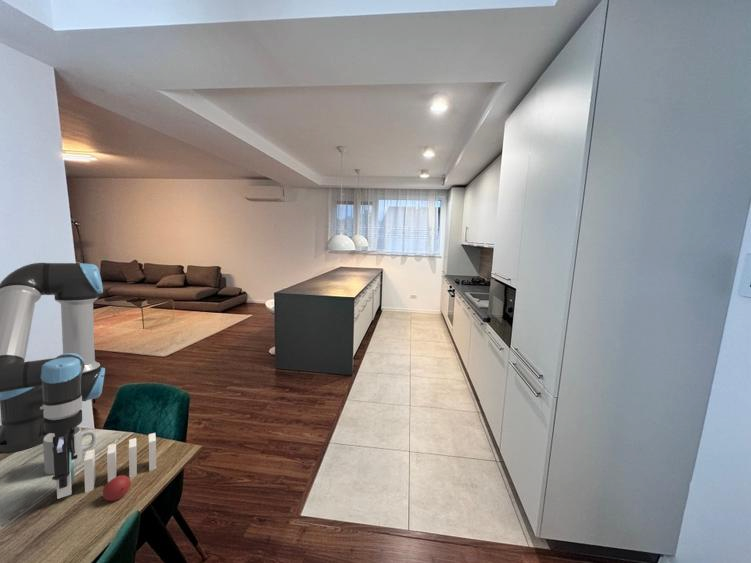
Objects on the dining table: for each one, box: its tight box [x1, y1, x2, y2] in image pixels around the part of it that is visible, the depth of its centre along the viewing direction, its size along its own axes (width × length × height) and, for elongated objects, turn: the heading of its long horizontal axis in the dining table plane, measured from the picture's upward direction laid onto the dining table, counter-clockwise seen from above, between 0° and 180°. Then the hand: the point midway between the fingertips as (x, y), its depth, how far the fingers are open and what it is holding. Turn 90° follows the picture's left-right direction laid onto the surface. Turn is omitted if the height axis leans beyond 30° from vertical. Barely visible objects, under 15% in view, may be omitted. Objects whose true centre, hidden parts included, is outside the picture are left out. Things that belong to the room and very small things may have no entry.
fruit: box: [102, 474, 132, 502], centre depth 85 cm, size 6×6×8 cm
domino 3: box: [106, 442, 118, 483], centre depth 91 cm, size 2×5×10 cm, turn 39°
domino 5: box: [148, 432, 157, 472], centre depth 97 cm, size 2×5×10 cm, turn 39°
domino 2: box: [83, 448, 96, 493], centre depth 88 cm, size 2×5×10 cm, turn 39°
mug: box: [42, 426, 97, 476], centre depth 96 cm, size 12×8×11 cm
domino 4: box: [128, 437, 138, 479], centre depth 94 cm, size 2×5×10 cm, turn 39°
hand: (66, 489), depth 85 cm, fingers closed on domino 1, 5 cm apart
